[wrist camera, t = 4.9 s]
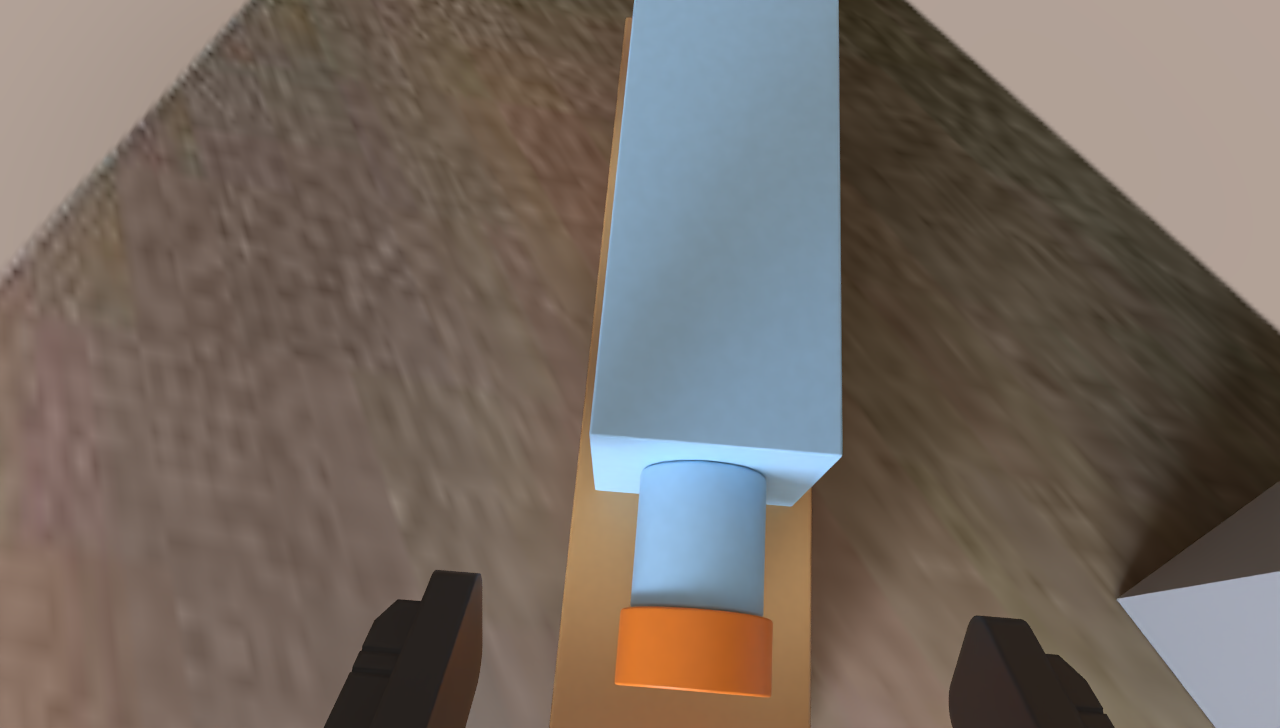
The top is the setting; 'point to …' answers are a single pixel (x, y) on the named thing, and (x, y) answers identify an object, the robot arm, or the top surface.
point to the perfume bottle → (1221, 616)
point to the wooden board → (602, 582)
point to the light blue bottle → (719, 322)
